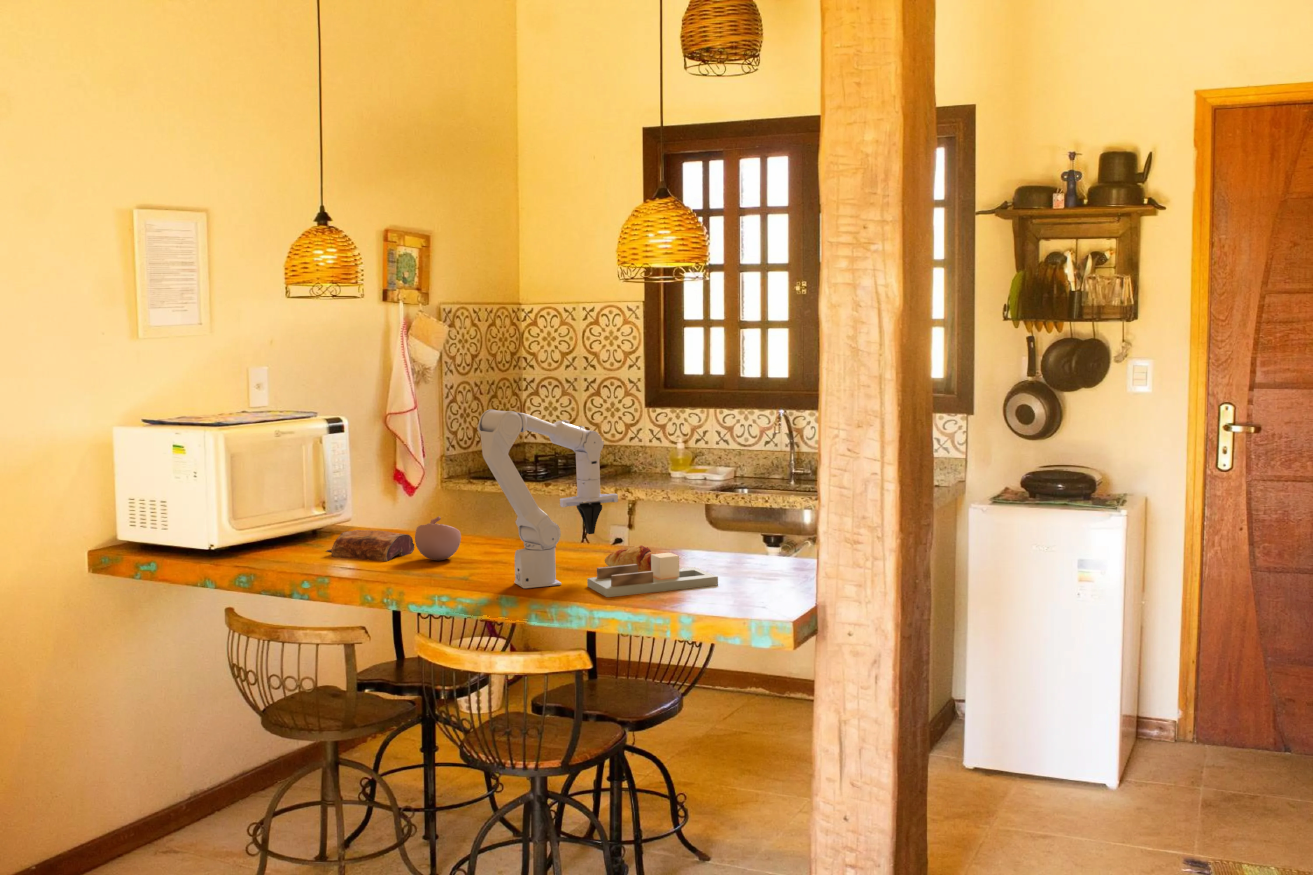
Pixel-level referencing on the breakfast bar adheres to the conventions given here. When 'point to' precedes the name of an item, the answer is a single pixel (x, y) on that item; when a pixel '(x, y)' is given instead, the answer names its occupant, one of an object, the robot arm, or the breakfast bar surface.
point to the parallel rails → (624, 575)
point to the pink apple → (437, 540)
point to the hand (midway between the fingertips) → (590, 533)
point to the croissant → (631, 558)
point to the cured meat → (372, 545)
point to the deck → (656, 583)
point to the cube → (665, 565)
